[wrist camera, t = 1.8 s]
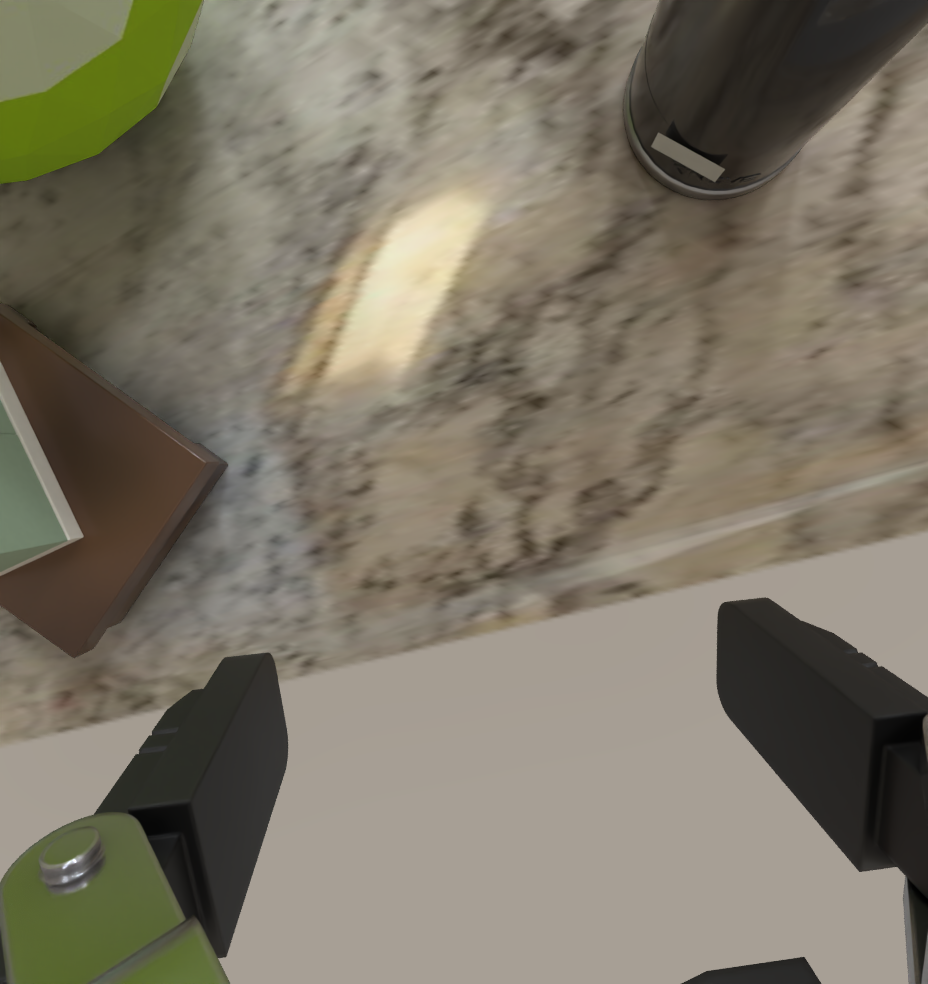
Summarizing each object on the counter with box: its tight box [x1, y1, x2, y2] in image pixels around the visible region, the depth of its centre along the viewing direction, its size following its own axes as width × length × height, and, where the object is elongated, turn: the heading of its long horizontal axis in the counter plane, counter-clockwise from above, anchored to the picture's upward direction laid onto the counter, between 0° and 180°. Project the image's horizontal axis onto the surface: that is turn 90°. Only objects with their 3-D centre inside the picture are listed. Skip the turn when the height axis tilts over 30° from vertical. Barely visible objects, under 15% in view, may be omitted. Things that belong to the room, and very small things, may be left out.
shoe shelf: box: [0, 303, 228, 658], centre depth 31 cm, size 16×12×4 cm
